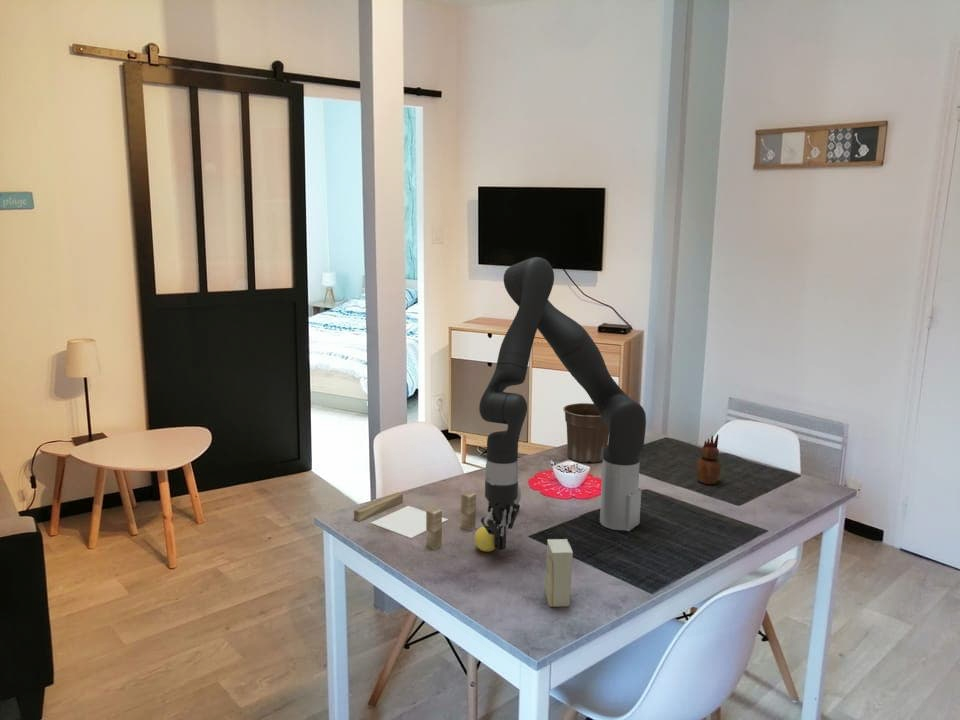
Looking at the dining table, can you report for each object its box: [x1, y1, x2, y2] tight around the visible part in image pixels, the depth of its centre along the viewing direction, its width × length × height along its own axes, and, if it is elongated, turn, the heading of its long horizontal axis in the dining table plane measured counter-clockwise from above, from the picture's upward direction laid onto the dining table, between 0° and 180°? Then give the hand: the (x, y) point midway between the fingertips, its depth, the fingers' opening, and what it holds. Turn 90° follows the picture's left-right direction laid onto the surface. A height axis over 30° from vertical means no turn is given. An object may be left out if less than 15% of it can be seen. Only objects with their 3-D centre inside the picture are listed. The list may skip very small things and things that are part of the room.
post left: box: [425, 507, 443, 550], centre depth 178 cm, size 3×3×9 cm
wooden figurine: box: [695, 434, 722, 485], centre depth 220 cm, size 7×6×15 cm
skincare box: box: [544, 538, 574, 608], centre depth 154 cm, size 6×4×12 cm
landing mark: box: [370, 505, 449, 539], centre depth 192 cm, size 14×14×1 cm
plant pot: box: [563, 402, 610, 464], centre depth 241 cm, size 16×16×16 cm
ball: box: [473, 526, 496, 552], centre depth 176 cm, size 6×6×6 cm
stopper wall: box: [353, 492, 404, 523], centre depth 198 cm, size 2×16×2 cm, turn 142°
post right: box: [460, 491, 477, 532], centre depth 188 cm, size 3×3×9 cm
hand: (500, 548), depth 174 cm, fingers closed
